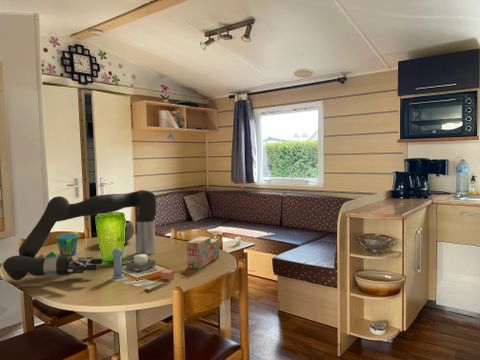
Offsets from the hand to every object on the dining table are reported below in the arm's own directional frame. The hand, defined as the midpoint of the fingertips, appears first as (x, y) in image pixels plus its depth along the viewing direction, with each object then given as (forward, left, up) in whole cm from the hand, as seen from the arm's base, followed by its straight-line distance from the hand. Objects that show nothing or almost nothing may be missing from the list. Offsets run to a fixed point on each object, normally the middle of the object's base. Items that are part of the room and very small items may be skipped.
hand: (99, 264), depth 154 cm
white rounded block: (+3, +20, -6) cm, 21 cm away
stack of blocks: (+21, +44, -8) cm, 49 cm away
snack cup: (-49, +20, -8) cm, 53 cm away
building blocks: (-37, +1, -8) cm, 38 cm away
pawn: (+5, +5, -6) cm, 9 cm away
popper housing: (+3, +20, -7) cm, 21 cm away
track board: (+14, +5, -7) cm, 17 cm away
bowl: (-46, +51, -8) cm, 69 cm away
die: (+23, +15, -7) cm, 29 cm away
